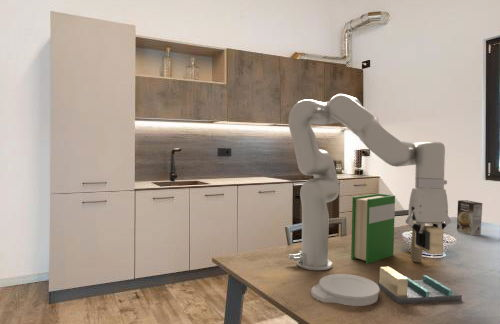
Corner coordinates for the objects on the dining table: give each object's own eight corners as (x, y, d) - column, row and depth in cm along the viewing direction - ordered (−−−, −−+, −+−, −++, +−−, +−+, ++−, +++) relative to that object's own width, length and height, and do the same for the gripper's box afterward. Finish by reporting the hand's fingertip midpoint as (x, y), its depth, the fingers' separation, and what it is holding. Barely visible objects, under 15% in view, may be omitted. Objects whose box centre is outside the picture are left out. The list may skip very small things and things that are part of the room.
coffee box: (455, 231, 182) (457, 200, 181) (465, 230, 184) (466, 199, 183) (471, 235, 173) (473, 203, 173) (481, 234, 175) (482, 202, 175)
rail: (399, 303, 97) (399, 280, 97) (377, 286, 109) (378, 265, 108) (461, 300, 99) (462, 277, 99) (434, 283, 111) (434, 263, 111)
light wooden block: (413, 246, 107) (414, 223, 107) (425, 246, 108) (425, 223, 108) (430, 254, 99) (431, 229, 99) (442, 253, 100) (443, 229, 100)
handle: (420, 264, 129) (421, 224, 128) (404, 260, 135) (405, 221, 134) (428, 262, 131) (429, 223, 131) (412, 258, 137) (413, 220, 136)
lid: (301, 286, 109) (301, 276, 109) (359, 281, 114) (359, 272, 114) (325, 311, 93) (325, 300, 92) (392, 304, 97) (392, 294, 97)
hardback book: (367, 263, 130) (369, 199, 129) (351, 258, 136) (352, 197, 134) (393, 255, 141) (395, 195, 140) (376, 250, 146) (378, 193, 145)
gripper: (446, 182, 108) (445, 241, 108) (395, 183, 105) (394, 243, 106) (464, 185, 100) (462, 248, 101) (410, 185, 98) (408, 250, 99)
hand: (427, 245), depth 104 cm, fingers closed on light wooden block, 3 cm apart
